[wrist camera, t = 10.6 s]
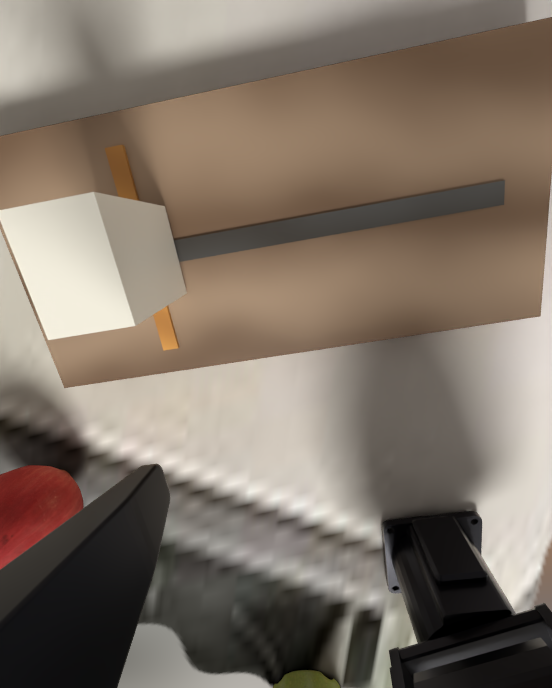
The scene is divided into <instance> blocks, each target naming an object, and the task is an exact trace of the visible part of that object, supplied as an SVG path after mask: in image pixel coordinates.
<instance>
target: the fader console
mask: <svg viewBox="0 0 552 688" xmlns="http://www.w3.org/2000/svg"><path fill="white" fill-rule="evenodd" d="M551 173H552V17H550V18H546V19H541V20H536V21H532V22H527V23H522V24H518V25H513V26H508V27H504V28H499V29H495V30H490V31H485V32H481V33H476V34H471V35H467V36H462V37H457V38H453V39H448V40H443V41H439V42H434V43H430V44H425V45H420V46H416V47H411V48H406V49H402V50H397V51H392V52H388V53H383V54H379V55H374V56H369V57H365V58H360V59H355V60H351V61H346V62H341V63H337V64H332V65H328V66H323V67H318V68H314V69H309V70H304V71H300V72H295V73H290V74H286V75H281V76H277V77H272V78H267V79H263V80H258V81H253V82H249V83H244V84H239V85H235V86H230V87H225V88H221V89H216V90H212V91H207V92H202V93H198V94H193V95H188V96H184V97H179V98H174V99H170V100H165V101H161V102H156V103H151V104H147V105H142V106H137V107H133V108H128V109H123V110H119V111H114V112H110V113H105V114H100V115H96V116H91V117H86V118H82V119H77V120H72V121H68V122H63V123H58V124H54V125H49V126H45V127H40V128H35V129H31V130H26V131H21V132H17V133H12V134H7V135H3V136H0V210H4V209H9V208H14V207H19V206H24V205H29V204H34V203H39V202H44V201H50V200H55V199H60V198H65V197H70V196H75V195H80V194H85V193H90V192H97V193H102V194H107V195H112V196H117V197H122V198H127V199H132V200H136V201H141V202H146V203H151V204H156V205H161V206H165V209H166V213H167V217H168V221H169V224H170V228H171V232H172V236H173V240H174V244H175V248H176V252H177V256H178V260H179V264H180V268H181V272H182V276H183V280H184V284H185V287H186V291H187V293H186V294H185V295H183V296H182V297H180V298H179V299H177V300H175V301H174V302H172V303H171V304H169V305H168V306H166V307H164V308H163V309H161V310H160V311H158V312H157V313H155V314H153V315H152V316H150V317H149V318H147V319H146V320H144V321H142V322H141V323H139V324H138V325H136V326H132V327H126V328H120V329H114V330H108V331H102V332H96V333H89V334H83V335H77V336H71V337H65V338H59V339H53V340H48V339H47V336H46V334H45V331H44V329H43V326H42V324H41V321H40V319H39V316H38V314H37V311H36V309H35V306H34V304H33V301H32V299H31V296H30V294H29V291H28V289H27V286H26V284H25V281H24V279H23V276H22V274H21V271H20V269H19V266H18V264H17V262H16V259H15V257H14V254H13V252H12V249H11V247H10V244H9V242H8V239H7V237H6V234H5V232H4V229H3V227H2V224H1V222H0V229H1V232H2V234H3V237H4V239H5V242H6V244H7V247H8V249H9V252H10V254H11V256H12V259H13V261H14V264H15V266H16V269H17V271H18V274H19V276H20V279H21V281H22V284H23V286H24V289H25V291H26V294H27V296H28V299H29V301H30V304H31V306H32V308H33V311H34V313H35V316H36V318H37V321H38V323H39V326H40V328H41V331H42V333H43V336H44V338H45V341H46V343H47V346H48V348H49V351H50V353H51V356H52V358H53V361H54V363H55V365H56V368H57V370H58V373H59V375H60V378H61V380H62V383H63V385H64V388H68V387H74V386H81V385H88V384H94V383H101V382H107V381H114V380H121V379H127V378H134V377H141V376H147V375H154V374H161V373H167V372H174V371H180V370H187V369H194V368H200V367H207V366H214V365H220V364H227V363H234V362H240V361H247V360H253V359H260V358H267V357H273V356H280V355H287V354H293V353H300V352H307V351H313V350H320V349H326V348H333V347H340V346H346V345H353V344H360V343H366V342H373V341H379V340H386V339H393V338H399V337H406V336H413V335H419V334H426V333H433V332H439V331H446V330H452V329H459V328H466V327H472V326H479V325H486V324H492V323H499V322H506V321H512V320H519V319H525V318H532V317H539V316H541V303H542V290H543V277H544V264H545V251H546V238H547V225H548V212H549V199H550V186H551Z"/></svg>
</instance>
